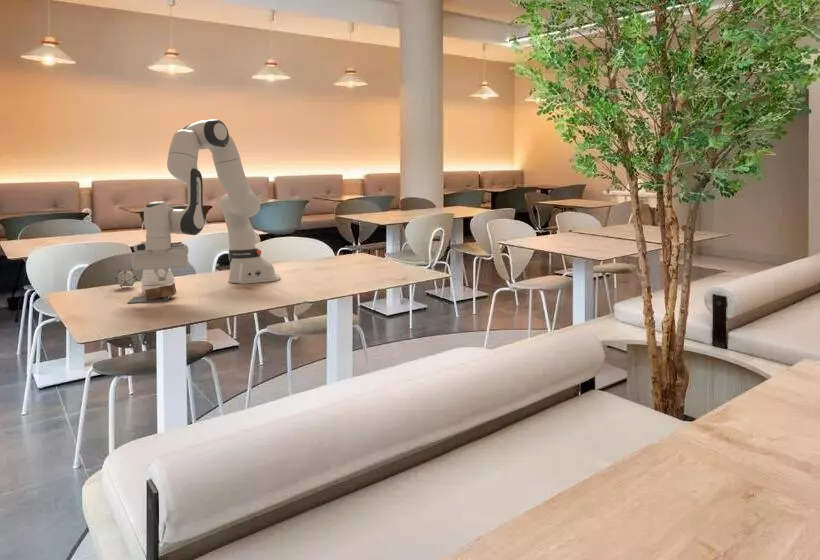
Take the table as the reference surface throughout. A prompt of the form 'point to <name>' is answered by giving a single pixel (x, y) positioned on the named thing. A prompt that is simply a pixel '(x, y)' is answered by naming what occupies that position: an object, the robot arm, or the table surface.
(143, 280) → the honey pot
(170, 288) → the walnut block
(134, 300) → the mat
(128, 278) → the twenty-sided die
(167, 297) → the rail
